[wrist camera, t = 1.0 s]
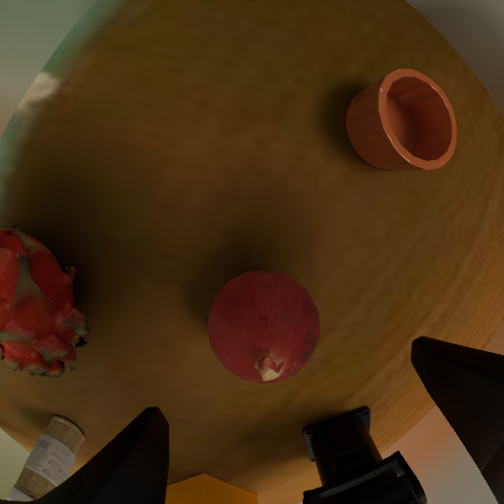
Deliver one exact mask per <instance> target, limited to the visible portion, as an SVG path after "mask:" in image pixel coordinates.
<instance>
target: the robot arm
mask: <svg viewBox="0 0 504 504" xmlns="http://www.w3.org/2000/svg"><path fill="white" fill-rule="evenodd" d="M411 362H412V364H413V366H414V368H415V370H416V372H417V373H418V375H419V377H420V379H421V381H422V382H423V384H424V386H425V388H426V390H427V391H428V393H429V395H430V396H431V398H432V399H433V401H434V402H435V403H436V405H437V406H438V408H439V409H440V410H441V412H442V413H443V415H444V416H445V418H446V419H447V420H448V422H449V424H450V425H451V427H452V428H453V429H454V431H455V432H456V434H457V435H458V437H459V438H460V440H461V442H462V443H463V444H464V446H465V448H466V449H467V451H468V452H469V454H470V455H471V457H472V459H473V460H474V462H475V463H476V465H477V467H478V468H479V470H480V471H481V474H482V475H483V477H484V479H485V480H486V482H487V484H488V486H489V487H490V489H491V491H492V493H493V494H494V496H495V498H496V500H497V502H498V503H499V504H504V355H501V354H496V353H492V352H487V351H483V350H478V349H474V348H470V347H466V346H461V345H457V344H453V343H449V342H445V341H441V340H437V339H433V338H429V337H425V336H421V337H419V338H417V339H415V340H413V342H412V350H411ZM369 430H370V409H369V408H368V407H364V408H362V409H359V410H356V411H354V412H351V413H348V414H345V415H343V416H340V417H337V418H334V419H331V420H328V421H324V422H321V423H318V424H314V425H311V426H307V427H305V428H304V429H303V434H304V438H305V443H306V447H307V451H308V455H309V459H310V461H311V462H315V463H316V466H317V469H318V473H319V476H320V480H321V483H322V486H321V487H319V488H316V489H313V490H307V491H304V492H303V495H304V499H302V500H303V504H426V503H427V498H426V495H425V493H424V490H423V488H422V486H421V484H420V482H419V480H418V479H417V477H416V475H415V474H414V473H413V471H412V470H411V468H410V467H409V465H408V464H407V462H406V461H405V459H404V458H403V456H402V455H401V453H400V452H399V451H397V452H395V453H393V455H391V456H389V457H387V458H385V459H384V460H383V459H382V457H381V455H380V453H379V451H378V449H377V447H376V445H375V443H374V441H373V440H372V438H371V436H370V434H369ZM168 470H169V424H168V421H167V420H166V418H165V417H164V415H163V413H162V412H161V410H160V409H159V408H158V407H147V408H146V409H144V410H143V411H142V412H141V413H140V414H139V415H138V416H137V417H136V418H135V419H134V420H133V421H132V422H131V423H130V424H129V425H128V426H127V427H125V428H124V429H123V430H122V431H121V432H120V433H119V434H118V435H117V436H116V437H115V438H114V439H113V440H112V441H110V442H109V443H108V444H107V445H106V446H105V447H104V448H103V449H102V450H101V451H99V452H98V453H97V454H96V455H95V456H94V457H93V458H92V459H91V460H89V461H88V462H87V464H85V465H84V466H83V467H81V468H80V469H79V470H78V471H77V472H76V473H74V474H73V475H72V476H71V477H69V478H68V479H67V480H65V481H64V482H63V483H61V484H60V485H58V486H57V487H55V488H54V489H52V490H51V491H49V492H48V493H46V494H45V495H43V496H42V497H40V498H38V499H36V500H32V501H13V500H1V499H0V504H165V501H166V490H167V480H168ZM397 475H398V476H399V477H398V476H397Z"/></svg>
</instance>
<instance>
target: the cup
mask: <svg viewBox="0 0 504 504" xmlns="http://www.w3.org/2000/svg"><path fill="white" fill-rule="evenodd" d="M346 128H347V133H348V136H349V139H350V141H351V144H352V146H353V147H354V149H355V150H356V152H357V153H358V154H359V155H360V157H361V158H362V159H363V160H365V161H366V162H367V163H368V164H370V165H371V166H373V167H375V168H378V169H381V170H387V171H412V170H431V169H437V168H441V167H442V166H443V165H444V164H446V163H447V162H448V161H449V160H450V159H451V157H452V155H453V152H454V150H455V147H456V143H457V123H456V120H455V116H454V112H453V109H452V106H451V104H450V103H449V101H448V99H447V97H446V96H445V94H444V92H443V91H442V90H441V89H440V88H439V86H438V85H437V84H436V83H435V82H434V81H433V80H432V79H431V78H429V77H428V76H426V75H424V74H422V73H420V72H418V71H416V70H412V69H397V70H395V71H393V72H391V73H390V74H388V75H386V76H384V77H383V78H381V79H380V80H378V81H377V82H375V83H373V84H372V85H370V86H369V87H367V88H366V89H364V90H363V91H361V92H360V93H358V94H357V95H356V96H355V97H354V98H353V99H352V101H351V102H350V104H349V106H348V109H347V114H346Z"/></svg>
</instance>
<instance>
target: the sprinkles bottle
mask: <svg viewBox="0 0 504 504" xmlns="http://www.w3.org/2000/svg"><path fill="white" fill-rule="evenodd" d="M84 441H85V438H84V435H83V433H82V432H81V431H80V429H79V428H78V427H77V426H76V425H74V424H73V423H71V422H70V421H69V420H67V419H65V418H62V417H58V416H55V417H52V418H51V420H50V423H49V425H48V427H47V428H46V430H45V432H44V433H43V435H41V437H40V439H39V440H38V442H37V444H36V445H35V447H34V449H33V450H32V452H31V454H30V456H29V457H28V459H27V461H26V463H25V465H24V468H23V470H22V472H21V474H20V476H19V478H18V480H17V482H16V484H15V485H14V487H12V488H11V490H10V492H9V494H8V496H7V500H13V501H32V500H36V499H38V498H40V497H42V496H43V495H45V494H46V493H48V492H49V491H51V490H52V489H54V488H55V487H57V486H58V485H60V484H61V483H63V482H64V481H65V480H67V479H68V477H69V474H70V472H71V469H72V467H73V465H74V463H75V460H76V456H77V454H78V452H79V450H80V448H81V445H82V444H83V443H84Z"/></svg>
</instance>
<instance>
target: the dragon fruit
mask: <svg viewBox="0 0 504 504" xmlns="http://www.w3.org/2000/svg"><path fill="white" fill-rule="evenodd" d="M64 268H65V273H64V272H62V270H61V268H60V266H59V264H58V262H57V260H56V258H55V257H54V256H53V254H52V253H51V251H50V250H48V249H47V246H46V245H44V244H42V243H40V242H39V241H38V240H36V239H35V238H33V237H31V236H30V235H28V234H26V233H23V232H21V230H20V229H18V227H17V225H13V229H6V228H1V227H0V347H1V349H0V359H4V358H5V362H6V364H7V366H8V367H9V368H10V369H12V370H14V371H16V370H17V368H18V369H19V371H22V370H23V369H25V370H26V371H28V372H29V373H30V374H31V375H38V376H45V377H49V378H52V379H54V380H56V378H57V377H60V376H61V375H62V374H63V373H64V371H65V366H64V364H65V363H66V364H67V366H68V367H69V368H70V371H72V370H74V369H75V365H76V363H77V354H76V352H75V350H74V348H73V346H72V345H71V343H70V342H71V341H72V340H74V339H76V338H78V337H79V341H78V343H77V344H76V347H75V348H77V347H83V346H84V345H86V344H87V343H88V342H87V338H86V335H85V334H88V333H89V328H88V325H87V322H88V319H87V317H86V316H84V315H83V314H82V313H79V311H78V310H77V309H75V308H74V295H73V280H74V276H75V275H76V270H75V268H74V267H73V266H71V267H64Z"/></svg>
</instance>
